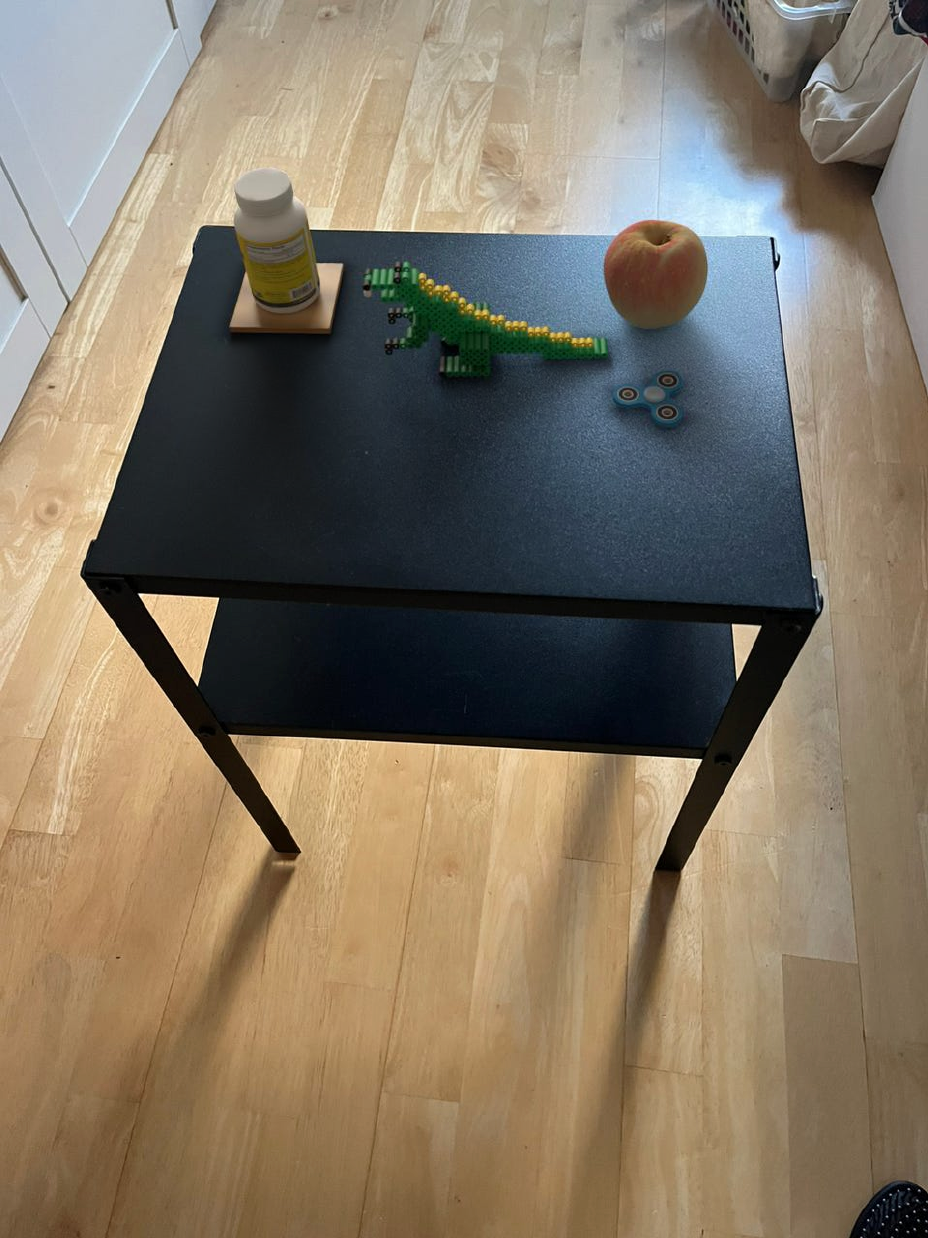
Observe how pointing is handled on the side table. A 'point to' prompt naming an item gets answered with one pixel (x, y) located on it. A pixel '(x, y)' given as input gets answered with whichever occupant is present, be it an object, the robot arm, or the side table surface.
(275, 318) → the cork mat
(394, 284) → the green brick dinosaur
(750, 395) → the side table surface
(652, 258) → the apple
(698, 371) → the side table surface
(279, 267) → the pill bottle
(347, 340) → the side table surface
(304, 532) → the side table surface
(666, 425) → the toy
